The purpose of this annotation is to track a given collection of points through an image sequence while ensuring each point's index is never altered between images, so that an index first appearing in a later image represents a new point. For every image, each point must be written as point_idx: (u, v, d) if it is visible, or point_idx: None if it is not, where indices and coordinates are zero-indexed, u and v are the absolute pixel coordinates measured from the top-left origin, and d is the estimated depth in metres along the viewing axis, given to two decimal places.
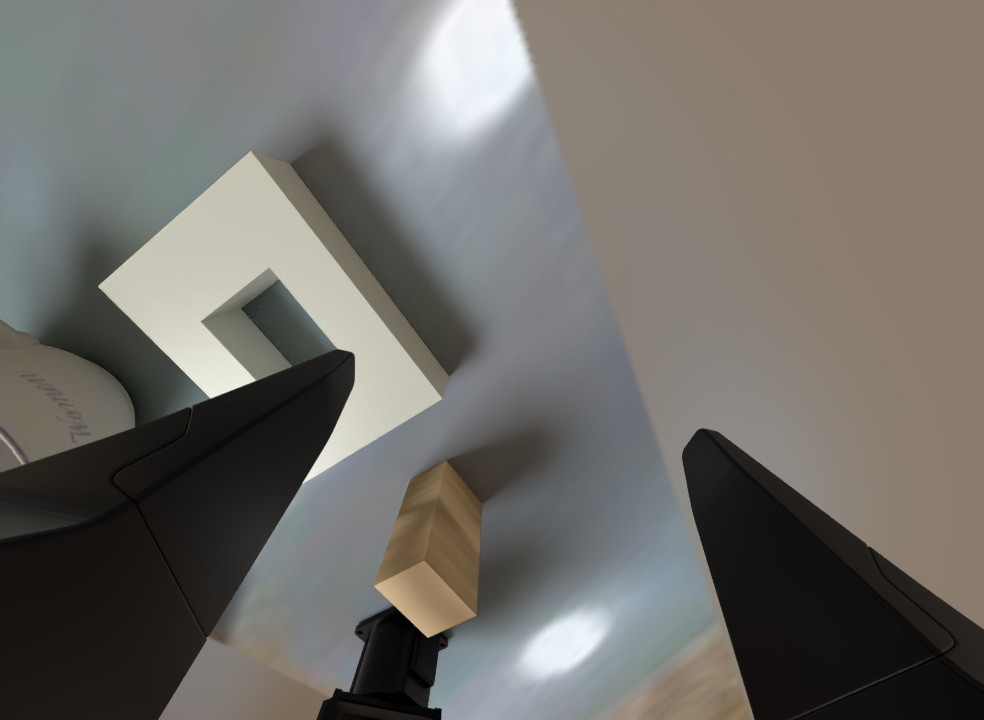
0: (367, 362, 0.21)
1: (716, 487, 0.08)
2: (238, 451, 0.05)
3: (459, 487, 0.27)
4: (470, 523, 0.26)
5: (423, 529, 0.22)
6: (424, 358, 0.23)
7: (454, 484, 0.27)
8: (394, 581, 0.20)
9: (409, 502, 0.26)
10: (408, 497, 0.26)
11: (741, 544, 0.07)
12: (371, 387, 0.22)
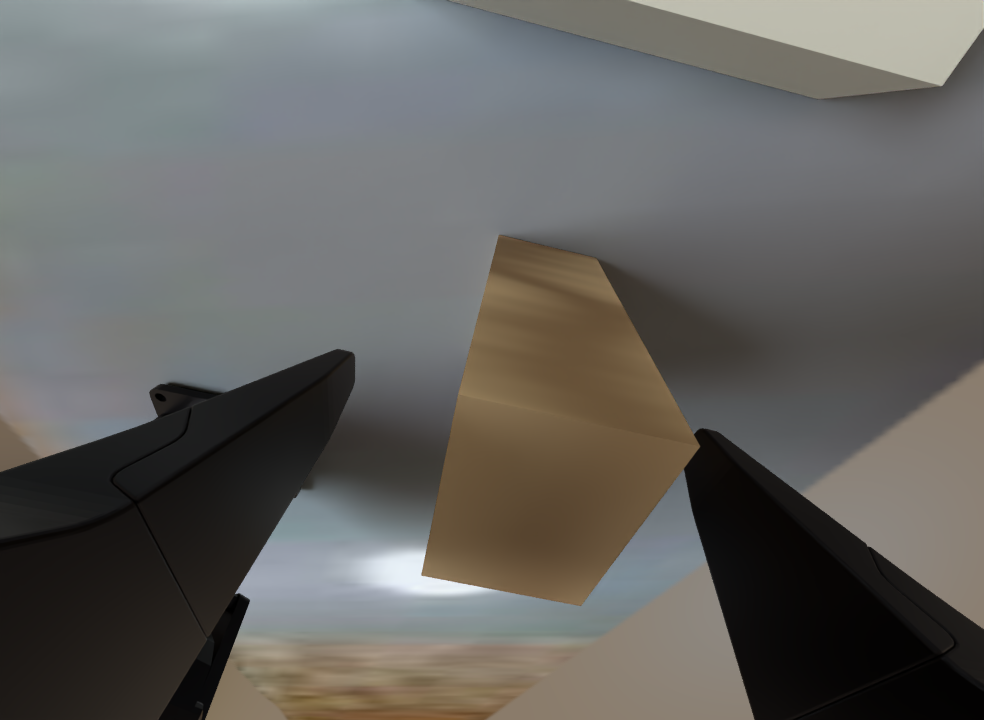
0: None
1: (716, 487, 0.08)
2: (238, 451, 0.05)
3: None
4: None
5: (619, 347, 0.07)
6: None
7: None
8: (535, 429, 0.05)
9: (520, 267, 0.10)
10: (510, 257, 0.11)
11: (741, 544, 0.07)
12: None
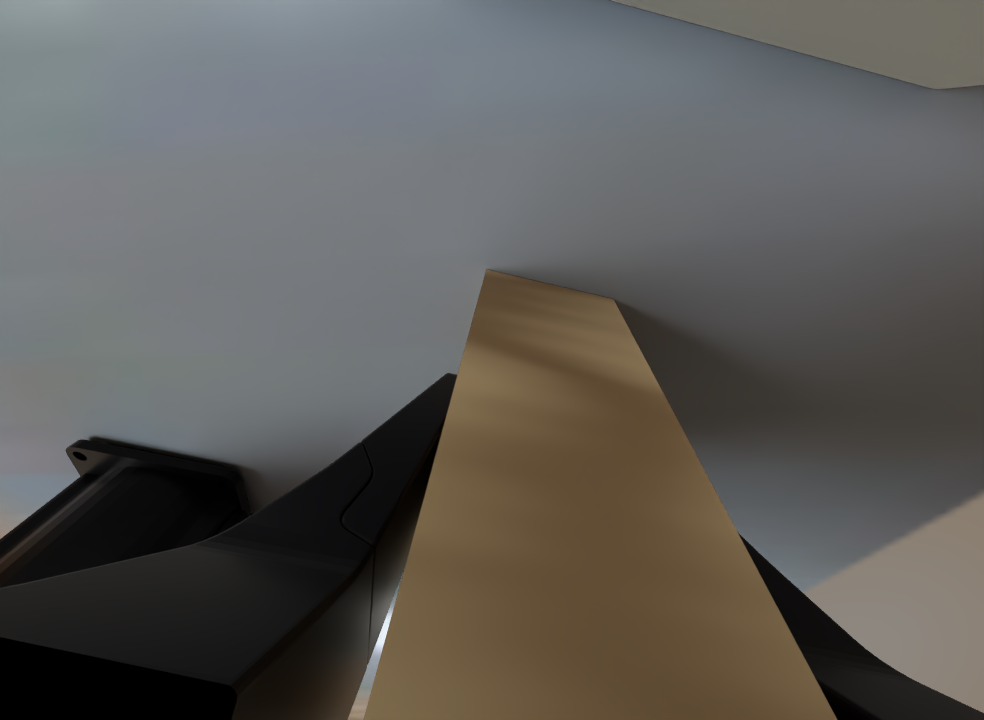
0: None
1: None
2: (414, 486, 0.06)
3: None
4: None
5: (677, 504, 0.04)
6: None
7: None
8: None
9: (511, 327, 0.07)
10: (499, 308, 0.08)
11: None
12: None
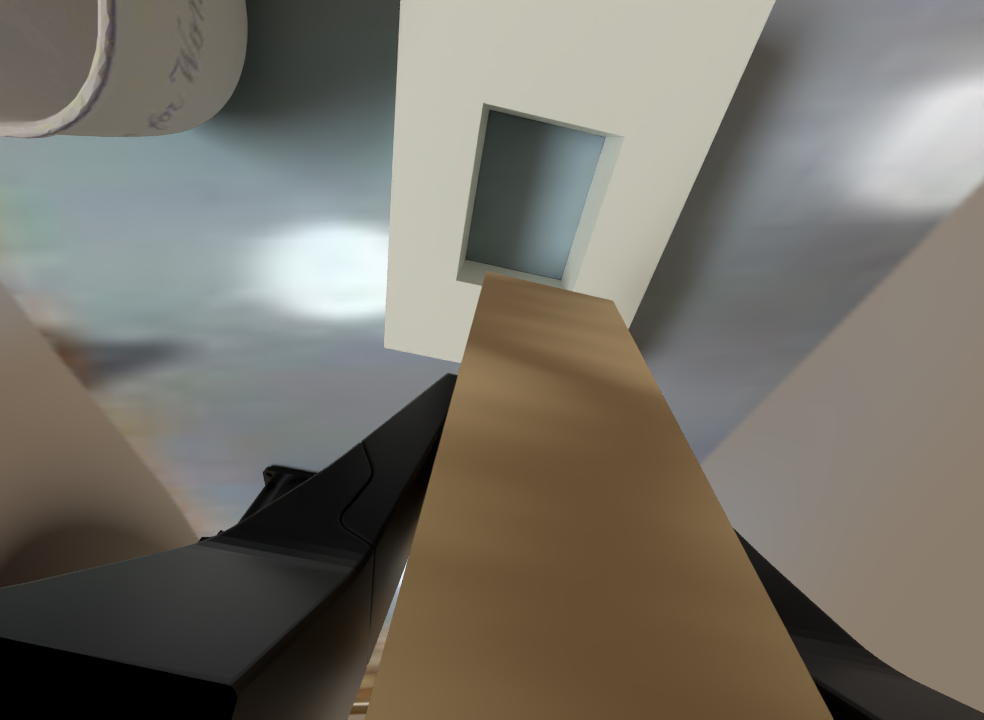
0: None
1: None
2: (414, 486, 0.06)
3: None
4: None
5: (676, 508, 0.04)
6: None
7: None
8: None
9: (511, 329, 0.07)
10: (499, 310, 0.08)
11: None
12: None
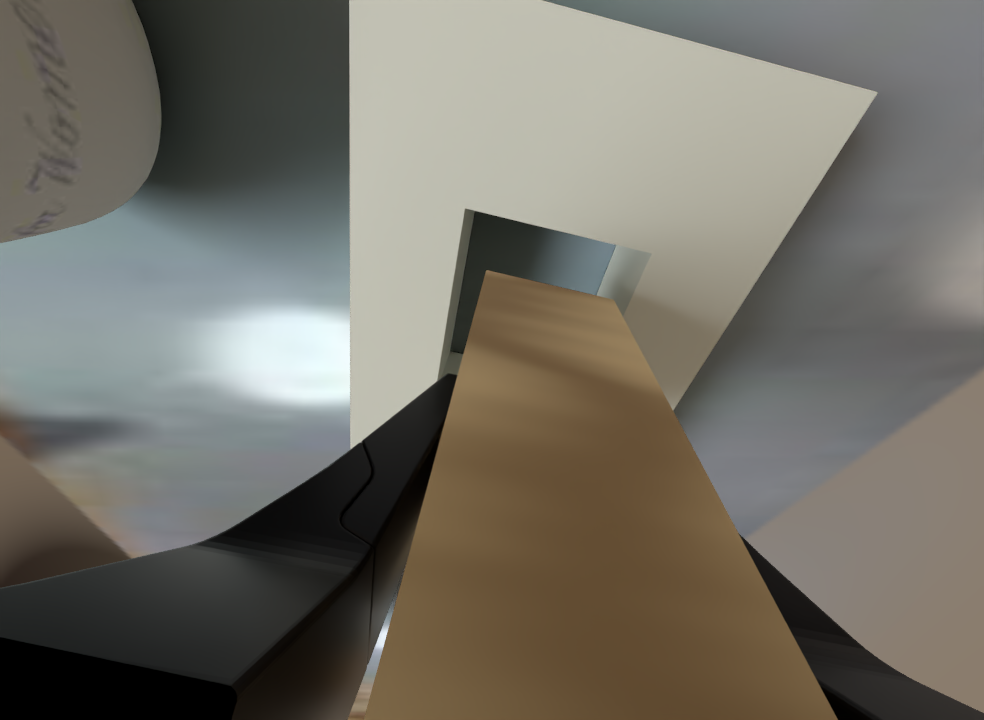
0: None
1: None
2: (414, 487, 0.06)
3: None
4: None
5: (678, 507, 0.04)
6: None
7: None
8: None
9: (512, 328, 0.07)
10: (499, 309, 0.08)
11: None
12: None
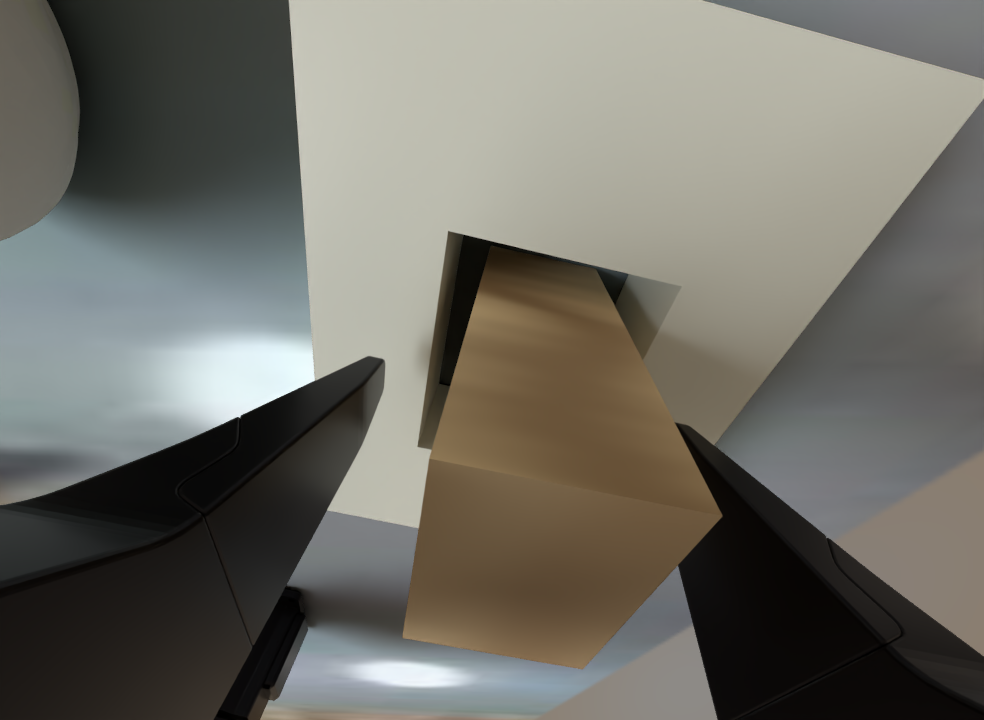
0: None
1: None
2: (288, 461, 0.05)
3: None
4: None
5: (622, 381, 0.06)
6: None
7: None
8: (523, 496, 0.04)
9: (512, 283, 0.09)
10: (502, 271, 0.10)
11: (706, 537, 0.07)
12: None
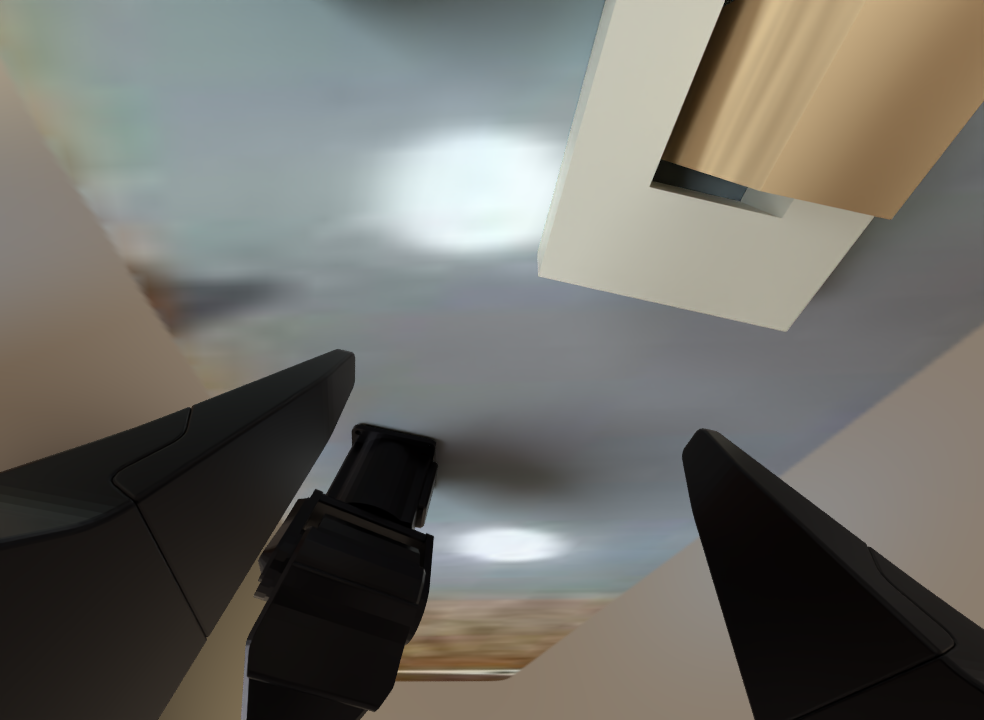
0: (801, 227, 0.15)
1: (716, 487, 0.08)
2: (238, 451, 0.05)
3: None
4: None
5: None
6: None
7: None
8: None
9: None
10: None
11: (741, 544, 0.07)
12: (756, 254, 0.15)
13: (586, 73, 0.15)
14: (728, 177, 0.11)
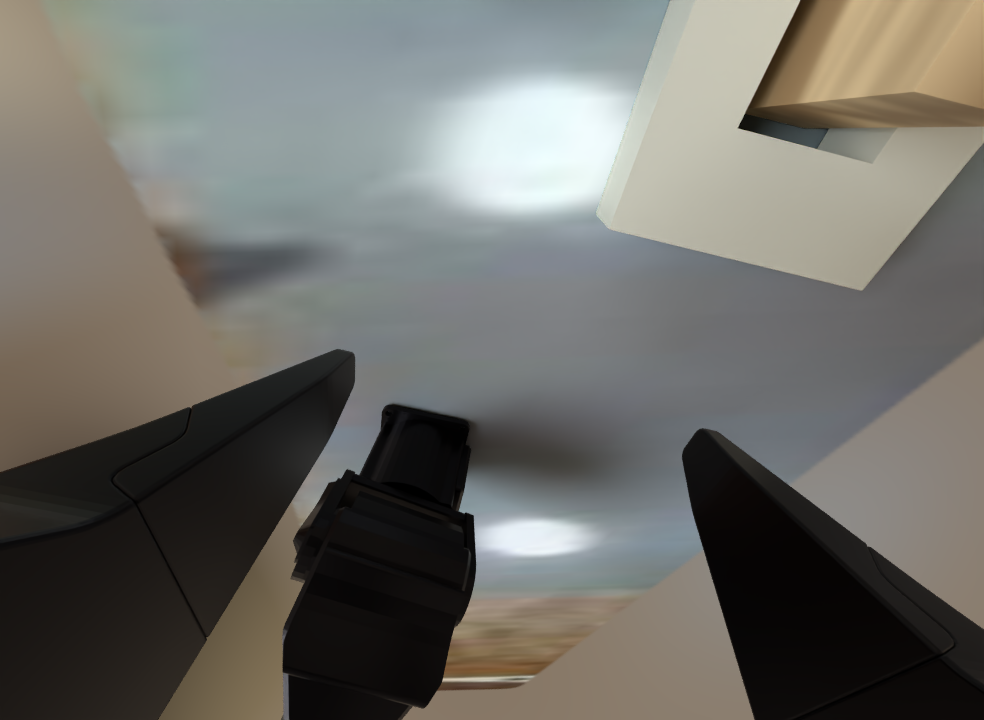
0: (890, 174, 0.14)
1: (716, 487, 0.08)
2: (238, 451, 0.05)
3: None
4: None
5: None
6: None
7: None
8: None
9: None
10: None
11: (741, 544, 0.07)
12: (839, 205, 0.15)
13: (667, 14, 0.14)
14: (855, 94, 0.10)
